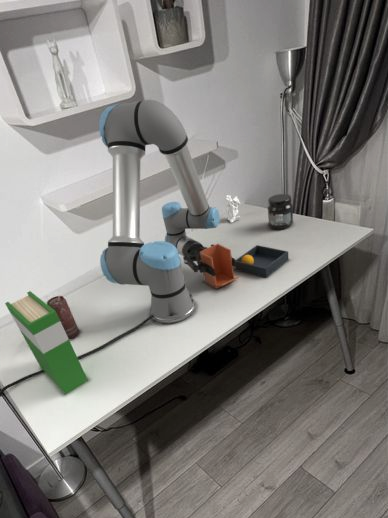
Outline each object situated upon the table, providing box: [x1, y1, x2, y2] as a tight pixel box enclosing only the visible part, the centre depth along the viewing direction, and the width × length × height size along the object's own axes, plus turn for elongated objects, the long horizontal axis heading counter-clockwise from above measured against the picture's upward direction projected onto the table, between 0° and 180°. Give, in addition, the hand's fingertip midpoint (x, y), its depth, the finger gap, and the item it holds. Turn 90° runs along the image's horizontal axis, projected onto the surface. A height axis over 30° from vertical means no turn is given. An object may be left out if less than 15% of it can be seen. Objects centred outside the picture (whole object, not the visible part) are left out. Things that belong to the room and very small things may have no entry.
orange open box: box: [199, 243, 239, 290], centre depth 142 cm, size 12×8×12 cm
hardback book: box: [5, 290, 89, 395], centre depth 112 cm, size 18×7×24 cm, turn 41°
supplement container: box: [267, 193, 294, 231], centre depth 172 cm, size 10×10×12 cm
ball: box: [241, 255, 254, 265], centre depth 149 cm, size 5×5×5 cm
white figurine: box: [224, 194, 241, 223], centre depth 186 cm, size 8×7×12 cm
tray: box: [234, 244, 289, 278], centre depth 149 cm, size 14×14×4 cm
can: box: [46, 295, 80, 341], centre depth 132 cm, size 6×6×14 cm
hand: (224, 267), depth 139 cm, fingers closed on orange open box, 8 cm apart
